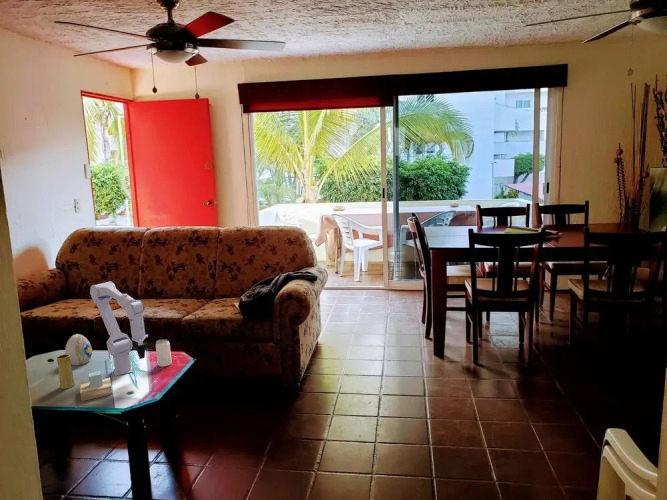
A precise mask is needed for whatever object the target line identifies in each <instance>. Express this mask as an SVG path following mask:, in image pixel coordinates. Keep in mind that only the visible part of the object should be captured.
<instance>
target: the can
mask: <svg viewBox="0 0 667 500" xmlns="http://www.w3.org/2000/svg"><path fill="white" fill-rule="evenodd" d="M155 342H156V343H155V351H156V359H157V365H158V367H160V368H163V367H168V366H170V365H172V364H173V363H172V355H171V345H170V344H171V343H170V342H169V340H168V339H167V338H165V339H164V338H163V339H159V340H157V341H155Z"/></svg>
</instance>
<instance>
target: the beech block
mask: <svg viewBox="0 0 667 500" xmlns="http://www.w3.org/2000/svg"><path fill="white" fill-rule="evenodd" d="M102 381H103V385H101V386H97V387H93V388H90V382H89V381H85V382H82V383H81V382H80V387H79V388H80V392H79V394H80V400H81V401H83V402H84V401H88V400H92V399H97V398H101V397H107V396H110V395H113V390H112V384H111V377H110V376H109V377H105V378H102Z"/></svg>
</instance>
